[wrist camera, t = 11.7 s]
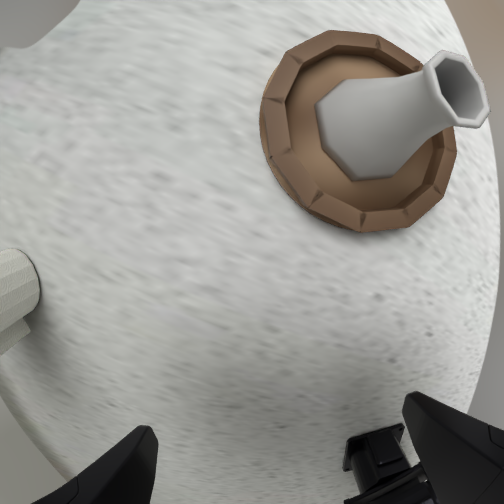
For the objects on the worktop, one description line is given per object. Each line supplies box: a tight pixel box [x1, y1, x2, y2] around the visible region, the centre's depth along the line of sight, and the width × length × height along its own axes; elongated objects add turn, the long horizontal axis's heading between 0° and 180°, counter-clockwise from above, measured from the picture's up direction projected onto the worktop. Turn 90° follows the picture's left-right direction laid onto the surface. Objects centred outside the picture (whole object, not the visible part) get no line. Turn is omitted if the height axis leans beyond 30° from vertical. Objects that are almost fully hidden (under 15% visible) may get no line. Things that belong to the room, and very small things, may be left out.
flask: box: [314, 50, 491, 181], centre depth 12 cm, size 7×7×10 cm
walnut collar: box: [259, 30, 457, 233], centre depth 16 cm, size 14×14×2 cm
